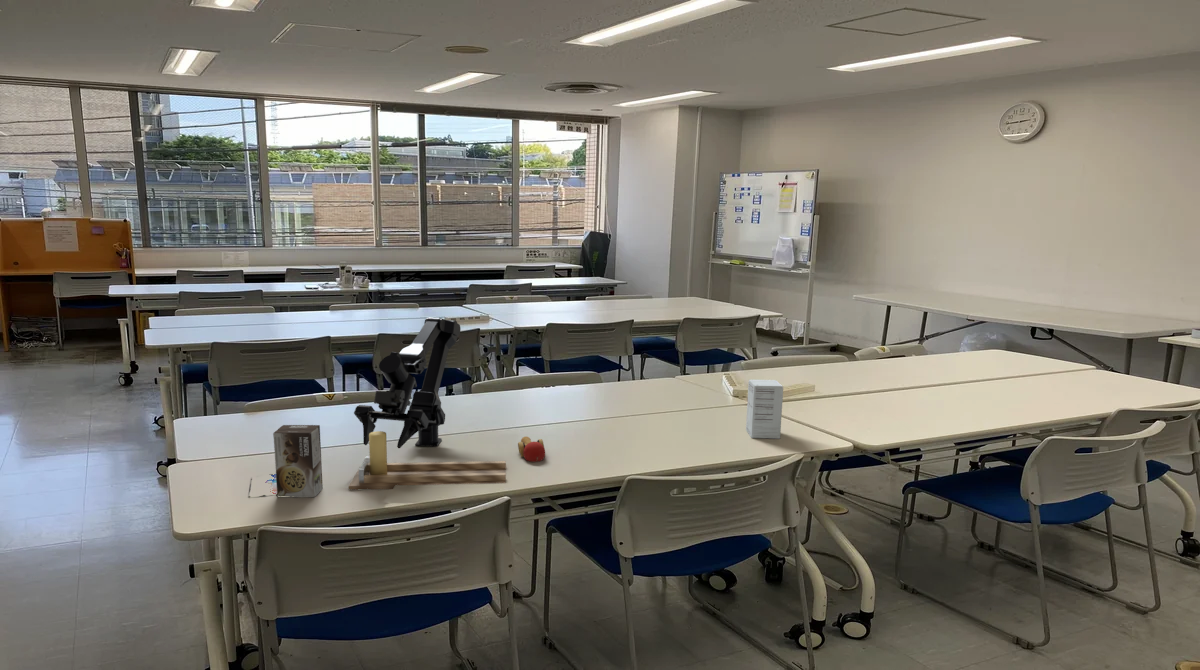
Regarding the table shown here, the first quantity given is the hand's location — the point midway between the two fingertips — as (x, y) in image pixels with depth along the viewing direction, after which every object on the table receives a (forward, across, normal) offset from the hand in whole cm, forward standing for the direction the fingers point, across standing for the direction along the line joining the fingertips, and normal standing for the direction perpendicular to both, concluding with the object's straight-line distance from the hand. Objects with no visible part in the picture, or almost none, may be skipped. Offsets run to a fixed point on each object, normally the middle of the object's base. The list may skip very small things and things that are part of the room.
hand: (381, 446), depth 192 cm
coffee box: (+16, -14, -5) cm, 22 cm away
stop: (+8, -3, +4) cm, 9 cm away
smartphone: (+15, -24, -3) cm, 29 cm away
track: (+4, +12, +7) cm, 15 cm away
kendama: (-12, +32, +25) cm, 42 cm away
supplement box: (-39, +97, +53) cm, 117 cm away
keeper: (+6, 0, +4) cm, 7 cm away
